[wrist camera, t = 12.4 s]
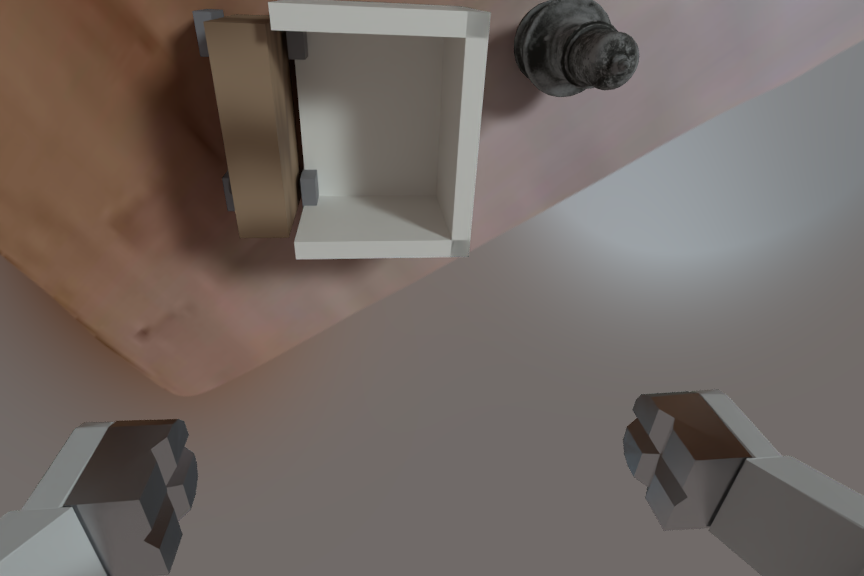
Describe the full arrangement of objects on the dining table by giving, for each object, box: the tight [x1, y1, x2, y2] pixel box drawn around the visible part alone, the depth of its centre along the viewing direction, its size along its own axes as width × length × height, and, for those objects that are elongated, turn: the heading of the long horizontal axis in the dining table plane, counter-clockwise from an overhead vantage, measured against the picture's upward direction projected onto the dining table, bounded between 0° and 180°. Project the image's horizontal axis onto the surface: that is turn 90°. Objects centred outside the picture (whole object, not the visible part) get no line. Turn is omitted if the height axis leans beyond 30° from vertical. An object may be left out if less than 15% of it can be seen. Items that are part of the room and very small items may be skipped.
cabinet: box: [193, 0, 491, 259], centre depth 32 cm, size 14×16×9 cm
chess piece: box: [514, 0, 639, 97], centre depth 30 cm, size 6×6×12 cm
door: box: [203, 14, 302, 238], centre depth 32 cm, size 12×4×8 cm, turn 178°
